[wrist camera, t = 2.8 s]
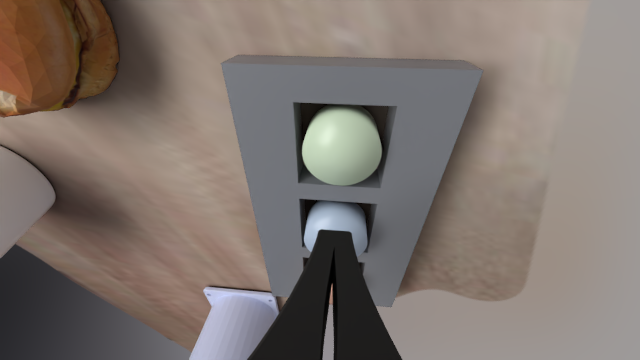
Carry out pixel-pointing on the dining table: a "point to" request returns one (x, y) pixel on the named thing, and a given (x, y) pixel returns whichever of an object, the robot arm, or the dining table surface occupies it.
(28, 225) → the candle
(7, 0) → the burger
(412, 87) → the button panel
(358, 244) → the blue button
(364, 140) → the green button
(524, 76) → the dining table surface
